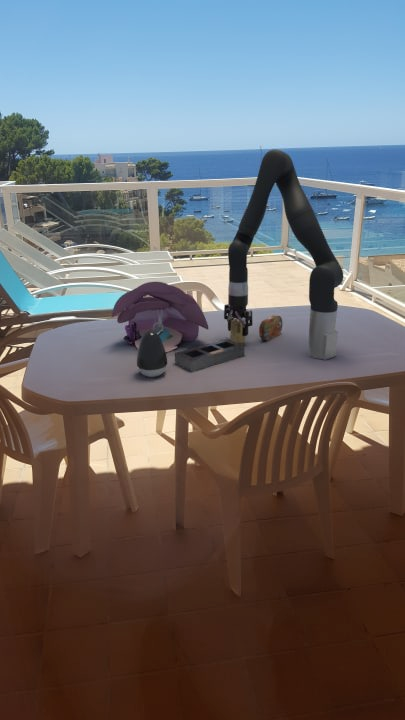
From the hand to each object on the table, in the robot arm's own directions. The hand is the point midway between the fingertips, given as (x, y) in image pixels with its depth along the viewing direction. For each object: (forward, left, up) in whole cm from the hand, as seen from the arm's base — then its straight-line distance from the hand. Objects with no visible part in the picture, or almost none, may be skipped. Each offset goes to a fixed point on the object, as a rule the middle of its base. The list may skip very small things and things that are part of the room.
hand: (237, 333), depth 194 cm
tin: (-4, -14, -4) cm, 15 cm away
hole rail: (-8, +20, -4) cm, 22 cm away
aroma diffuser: (-6, +43, -4) cm, 44 cm away
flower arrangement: (+17, +25, -4) cm, 31 cm away
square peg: (0, 0, -4) cm, 4 cm away
